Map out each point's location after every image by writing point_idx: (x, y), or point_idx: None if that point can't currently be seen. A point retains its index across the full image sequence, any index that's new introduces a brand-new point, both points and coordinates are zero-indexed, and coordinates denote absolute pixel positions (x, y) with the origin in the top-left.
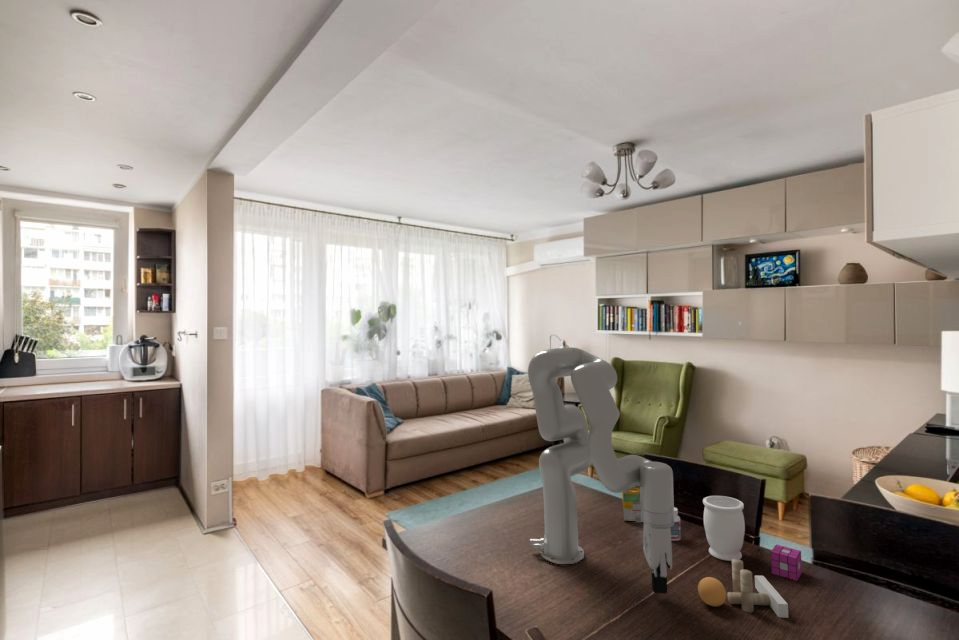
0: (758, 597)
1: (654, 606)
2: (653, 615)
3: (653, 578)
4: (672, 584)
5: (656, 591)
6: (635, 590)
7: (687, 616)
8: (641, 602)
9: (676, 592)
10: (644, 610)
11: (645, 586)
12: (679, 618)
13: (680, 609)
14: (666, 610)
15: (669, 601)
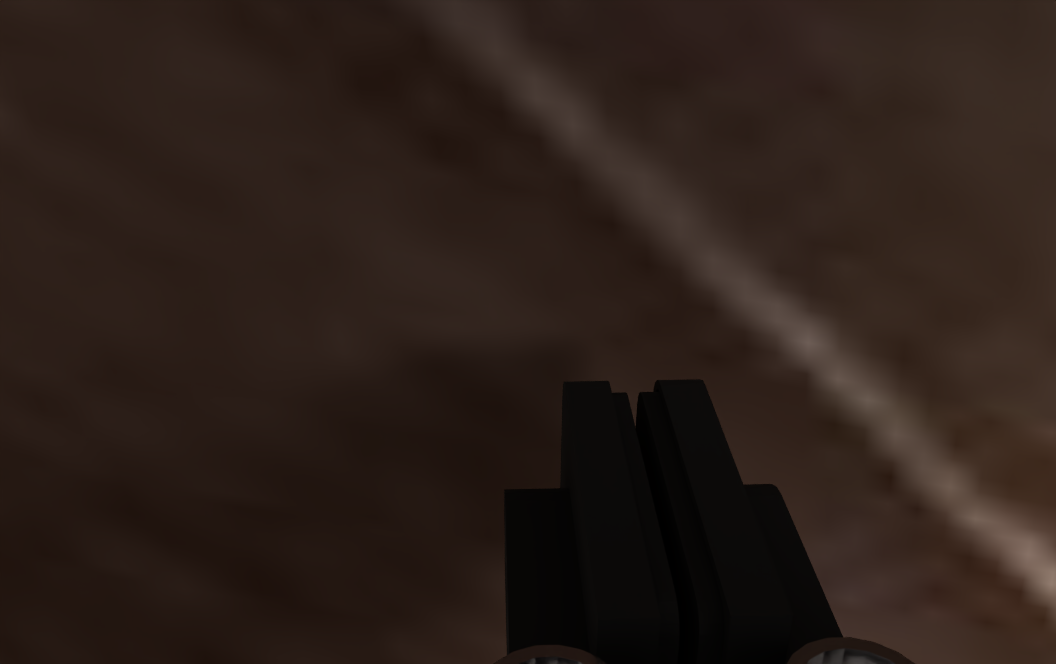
0: None
1: (346, 279)
2: (46, 210)
3: (591, 581)
4: (1000, 638)
5: (565, 437)
6: (884, 21)
7: (171, 661)
8: (446, 66)
9: None
10: (170, 74)
11: (1003, 244)
12: (87, 564)
13: (332, 616)
14: (262, 438)
15: None
